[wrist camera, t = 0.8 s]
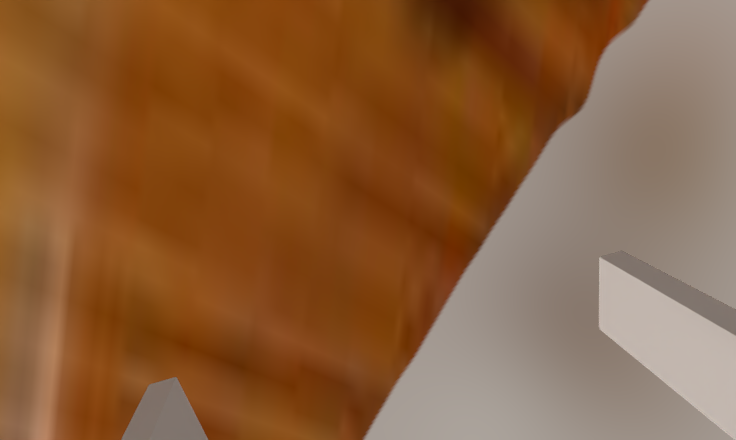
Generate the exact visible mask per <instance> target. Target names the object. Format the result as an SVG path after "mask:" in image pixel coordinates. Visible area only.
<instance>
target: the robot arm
mask: <svg viewBox="0 0 736 440" xmlns="http://www.w3.org/2000/svg"><path fill="white" fill-rule="evenodd" d="M599 329H600V330H601V331H603V332H604V333H605V334H606V335H607V336H609V337H610V338H611V339H613V340H614V341H615V342H616V343H617V344H618V345H620V346H621V347H622V348H623V349H625V350H626V351H627V352H628V353H629V354H631V355H632V356H633V357H634V358H635V359H637V360H638V361H639V362H640V363H642V364H643V365H644V366H645V367H646V368H648V369H649V370H650V371H651V372H653V373H654V374H655V375H656V376H657V377H659V378H660V379H661V380H662V381H663V382H665V383H666V384H667V385H668V386H670V387H671V388H672V389H673V390H675V391H676V392H677V393H678V394H679V395H681V396H682V397H683V398H684V399H685V400H687V401H688V402H689V403H690V404H692V405H693V406H694V407H695V408H696V409H698V410H699V411H700V412H701V413H703V414H704V415H705V416H706V417H707V418H709V419H710V420H711V421H712V422H713V423H715V424H716V425H717V426H718V427H720V428H721V429H722V430H723V431H724V432H726V433H727V434H728V435H729V436H731V437H732V438H733V439H734V440H736V309H733V308H732V307H730V306H728V305H726V304H724V303H722V302H720V301H718V300H716V299H714V298H712V297H711V296H708V295H706V294H705V293H703V292H701V291H699V290H697V289H695V288H693V287H691V286H689V285H687V284H685V283H684V282H682V281H680V280H678V279H676V278H674V277H672V276H670V275H668V274H666V273H664V272H662V271H660V270H659V269H656V268H655V267H653V266H651V265H649V264H647V263H645V262H643V261H641V260H639V259H637V258H635V257H633V256H631V255H629V254H628V253H626V252H624V251H618V252H615V253H611V254H608V255H604V256H601V257H599ZM121 440H208V438H207V437H206V435H205V433H204V431H203V429H202V427H201V425H200V423H199V421H198V419H197V417H196V415H195V413H194V411H193V409H192V407H191V405H190V403H189V401H188V399H187V397H186V395H185V393H184V391H183V389H182V387H181V385H180V383H179V381H178V379H177V377H174V378H171V379H167V380H164V381H160V382H157V383H153V384H150V385H149V386H148V388H147V390H146V392H145V394H144V396H143V398H142V400H141V402H140V404H139V406H138V408H137V410H136V412H135V414H134V415H133V417H132V419H131V421H130V423H129V425H128V427H127V429H126V431H125V433H124V435H123V437H122V439H121Z"/></svg>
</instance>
